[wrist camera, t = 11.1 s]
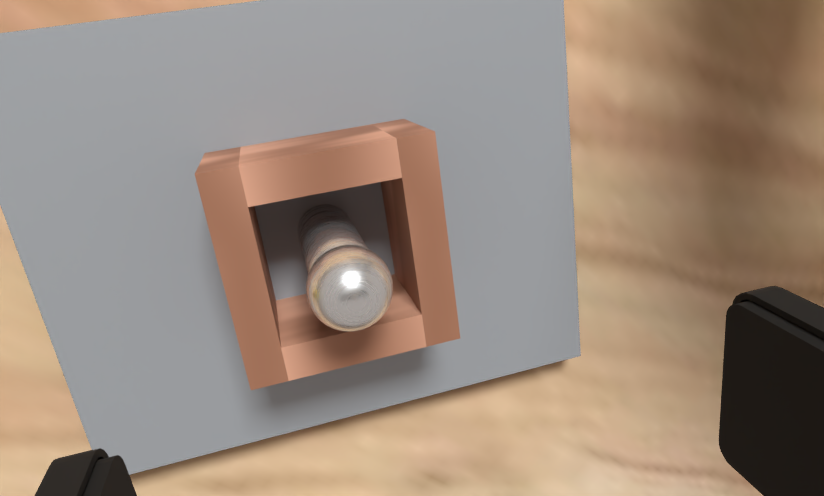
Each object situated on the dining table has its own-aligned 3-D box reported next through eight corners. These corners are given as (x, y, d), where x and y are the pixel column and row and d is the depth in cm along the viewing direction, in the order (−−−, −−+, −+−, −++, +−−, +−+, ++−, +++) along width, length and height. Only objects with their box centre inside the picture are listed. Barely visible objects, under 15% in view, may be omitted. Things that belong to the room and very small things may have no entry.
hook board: (542, -32, 23) (561, -38, 22) (564, 341, 28) (580, 355, 27) (-39, 42, 19) (-61, 41, 18) (112, 457, 24) (103, 481, 23)
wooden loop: (403, 118, 22) (435, 131, 18) (428, 295, 24) (460, 338, 20) (204, 153, 21) (194, 174, 17) (250, 336, 23) (250, 390, 19)
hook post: (351, 193, 22) (395, 251, 16) (362, 254, 23) (407, 334, 16) (286, 205, 22) (302, 271, 15) (299, 267, 23) (319, 356, 16)
